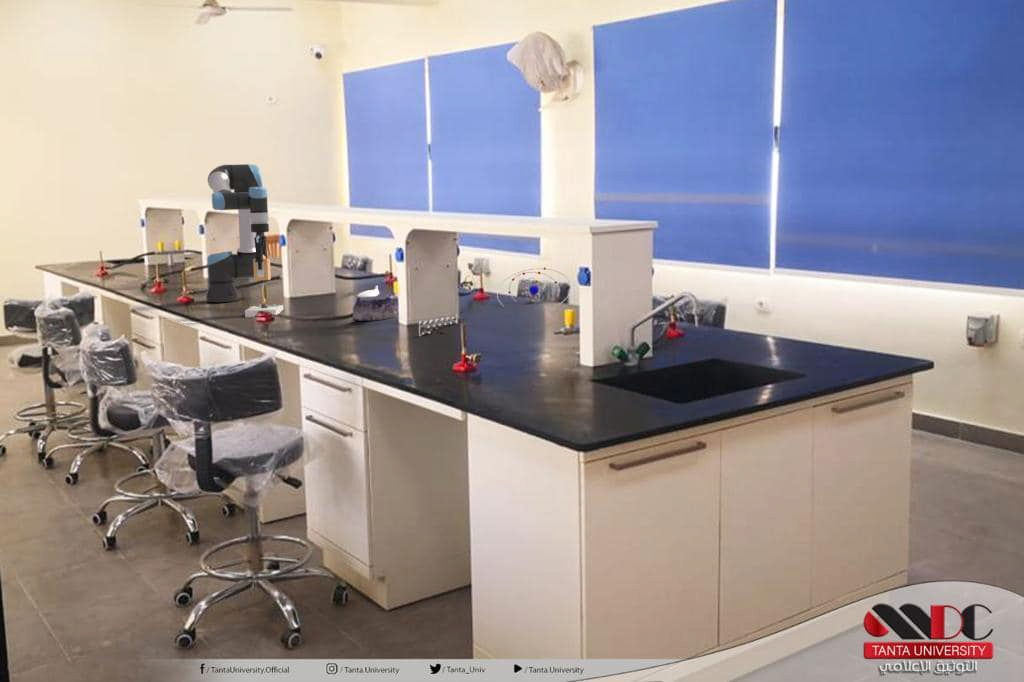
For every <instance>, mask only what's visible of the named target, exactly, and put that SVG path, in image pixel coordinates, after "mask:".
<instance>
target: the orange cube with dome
mask: <svg viewBox="0 0 1024 682" xmlns="http://www.w3.org/2000/svg"><path fill="white" fill-rule="evenodd" d="M263 262H264V277H258V274H257V262H255V259H253V266H254V278H253V279H254V281H270V280H271V279H272V276H271V275H272V274H271V259H270V258H268V257H267V259H266V257H265V256H264V255H263Z"/></svg>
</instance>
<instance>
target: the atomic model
mask: <svg viewBox="0 0 1024 682" xmlns="http://www.w3.org/2000/svg"><path fill="white" fill-rule="evenodd" d="M532 270H534V268H530V269H525V270H521V271H519V272H516V273H514V274H512V275H510V276H508V277H507V278H506V279H504V280H503V281H502V282H501V283H500V285H499V287H498V289H497V291H496V296H497V297H496V298H497V300H498V302H499V303H500V304H502V302H501V301H500V299H499V296H498V295H499V294H498V293H499V290H500V287H501V285H502V284H503V283H504V282H506V280H508V279H510V278H511V277H512V278H511V281H510V283H509V285H508V286H509V287H508V294H510V297H511V299H513V300H514V301H515V302H517V300H516V299H515V298H514V297H513V296H512V294H511V293H512V292H511V285H512V282H514V281H515V279H516V278H517V277H519V276H521V275H523V276H525V275H526V274H528V273H529V274H530V273H533V271H532ZM537 270H548V271H554V272H557V273H559V274H561V275H563V276H564V277H565V278H566V279H567V280H568V282H569V283H570V285H572V283H571V280H570V279H569V277H568V276H566V275H565V274H564V273H562V272H561V271H558V270H556V269H555V270H554V269H550V268H546V267H542V268H537ZM527 271H528V272H527ZM535 273H536V274H538V275H541V274H542V275H544V276H547V277H549V278H550V279H551V280H553V281H554V284H556V286H557V290H558V292H557V293H558V294H557V296H555V299H554V301H556V300H558V299H559V294H560V287H559V284H558V281H556V280H555V279H554V278H553V277H551V276H550V275H548V274H546V273H544V272H540V271H534V274H535ZM514 275H516V276H515V277H514V278H513V276H514ZM531 279H533V280H535V283H536V284H537V285H531V287H530V280H531ZM538 282H539V281H538V280H537V279H535V277H530V278H529V279H528V282H527V283H528V284H527V287H528V288H527V290H528V295H529V297H530V300H531V301H533V303H534V302H535V303H539V301H540V298H541V290H540V284H539V283H538ZM571 292H572V289H570V290H569V292H568V295H567V296H566V297H565V298H564V300H563V301H561V302H560V303H558V304H557V306H559V305H561V304H563V302H565V301H566V300H567V299H568V298H569V296H570V295H571ZM538 293H539V297H538V300H537V301H535V300H533V299H534V298H533V295H534V296H535V295H537V294H538ZM531 295H532V296H531ZM502 307H505V305H503V304H502Z"/></svg>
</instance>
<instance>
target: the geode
mask: <svg viewBox="0 0 1024 682" xmlns="http://www.w3.org/2000/svg"><path fill="white" fill-rule="evenodd" d="M398 306H399V302H398V301H397V300H395V299H392V300H390V298H388V297H387V298H377V299H375V298H374V299H367V300H366V299H365V300H364V299H361V297H357V298H356V301H355V303H354V305H353V308H352V321H355V322H356V321H358V322H370V321H373V322H374V321H381V320H387V319H394V318H398V317H399V309H398Z"/></svg>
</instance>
